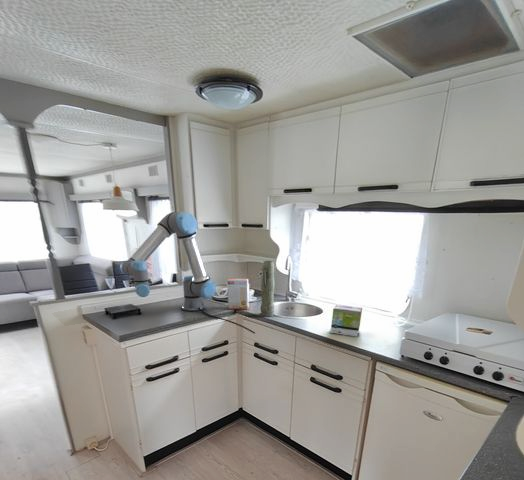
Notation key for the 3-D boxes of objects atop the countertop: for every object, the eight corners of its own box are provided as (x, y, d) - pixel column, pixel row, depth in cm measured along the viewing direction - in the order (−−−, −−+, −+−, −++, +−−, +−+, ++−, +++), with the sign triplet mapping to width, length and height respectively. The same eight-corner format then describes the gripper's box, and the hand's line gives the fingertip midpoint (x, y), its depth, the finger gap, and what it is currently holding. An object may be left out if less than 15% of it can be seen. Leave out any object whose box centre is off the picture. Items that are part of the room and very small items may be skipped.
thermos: (276, 313, 222) (277, 260, 208) (271, 317, 211) (272, 262, 198) (263, 312, 224) (264, 259, 211) (258, 316, 214) (258, 262, 200)
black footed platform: (141, 314, 215) (140, 308, 214) (113, 319, 204) (112, 313, 202) (132, 309, 226) (131, 303, 225) (105, 313, 215) (104, 307, 213)
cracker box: (248, 307, 234) (248, 278, 226) (247, 310, 228) (247, 280, 220) (229, 307, 235) (229, 278, 227) (228, 309, 230) (227, 279, 222)
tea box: (330, 333, 184) (332, 308, 178) (333, 328, 193) (335, 304, 187) (357, 337, 179) (360, 311, 174) (359, 331, 188) (362, 306, 182)
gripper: (125, 293, 191) (124, 286, 210) (158, 291, 198) (154, 284, 217) (123, 280, 188) (122, 274, 208) (157, 278, 195) (153, 272, 214)
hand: (139, 279), depth 212 cm, fingers closed on packet, 6 cm apart
